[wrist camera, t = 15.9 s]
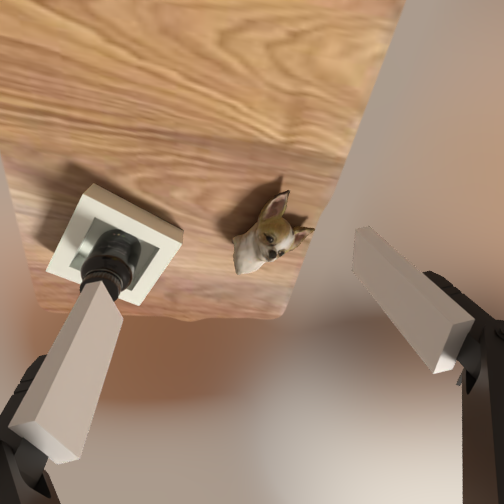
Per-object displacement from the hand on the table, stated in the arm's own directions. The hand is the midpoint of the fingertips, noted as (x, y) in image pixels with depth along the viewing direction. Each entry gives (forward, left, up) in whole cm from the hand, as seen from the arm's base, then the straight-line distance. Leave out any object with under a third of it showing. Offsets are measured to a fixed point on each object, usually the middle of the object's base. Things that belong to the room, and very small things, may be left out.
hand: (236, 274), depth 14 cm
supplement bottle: (+22, -4, -31) cm, 38 cm away
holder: (+22, -4, -32) cm, 39 cm away
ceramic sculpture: (+7, +15, -32) cm, 36 cm away
